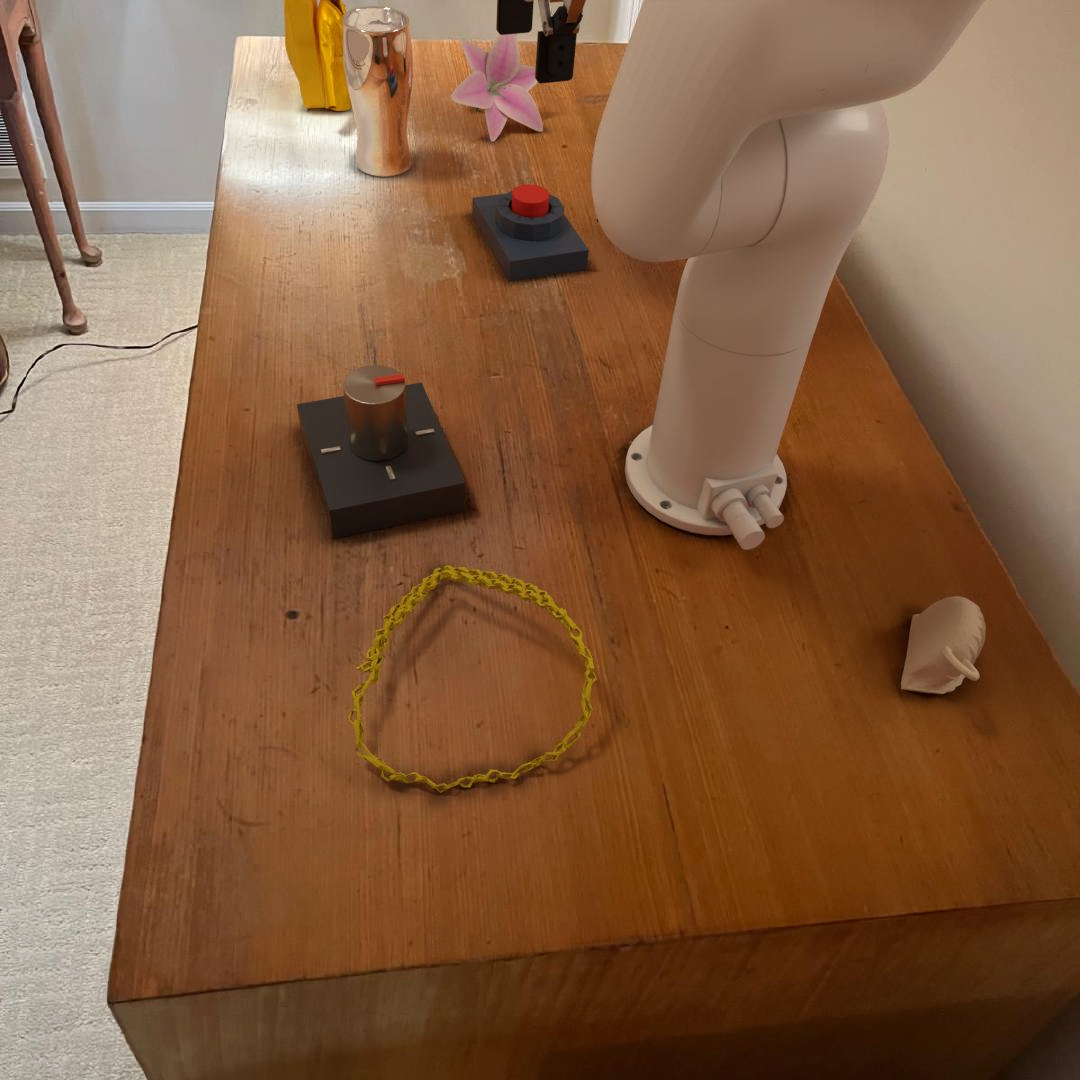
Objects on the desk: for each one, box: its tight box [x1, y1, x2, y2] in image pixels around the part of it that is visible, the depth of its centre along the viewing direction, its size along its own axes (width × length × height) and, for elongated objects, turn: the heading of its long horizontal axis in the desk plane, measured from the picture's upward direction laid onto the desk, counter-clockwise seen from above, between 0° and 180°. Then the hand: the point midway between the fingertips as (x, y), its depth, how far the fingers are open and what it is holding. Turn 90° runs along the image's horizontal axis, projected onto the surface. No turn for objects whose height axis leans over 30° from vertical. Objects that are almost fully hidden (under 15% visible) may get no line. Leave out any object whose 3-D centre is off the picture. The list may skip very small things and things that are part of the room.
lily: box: [450, 33, 544, 143], centre depth 117 cm, size 12×12×10 cm
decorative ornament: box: [900, 595, 987, 695], centre depth 67 cm, size 4×8×5 cm, turn 158°
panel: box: [296, 382, 467, 539], centre depth 78 cm, size 12×10×3 cm
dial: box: [342, 364, 408, 461], centre depth 74 cm, size 4×4×6 cm
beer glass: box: [342, 5, 414, 178], centre depth 106 cm, size 7×7×15 cm
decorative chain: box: [347, 564, 598, 794], centre depth 64 cm, size 16×15×5 cm
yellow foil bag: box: [283, 0, 352, 112], centre depth 112 cm, size 18×8×22 cm, turn 3°
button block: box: [471, 188, 590, 282], centre depth 101 cm, size 12×8×4 cm, turn 20°
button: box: [511, 183, 550, 218], centre depth 99 cm, size 4×4×2 cm
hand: (533, 55), depth 88 cm, fingers open, 9 cm apart
